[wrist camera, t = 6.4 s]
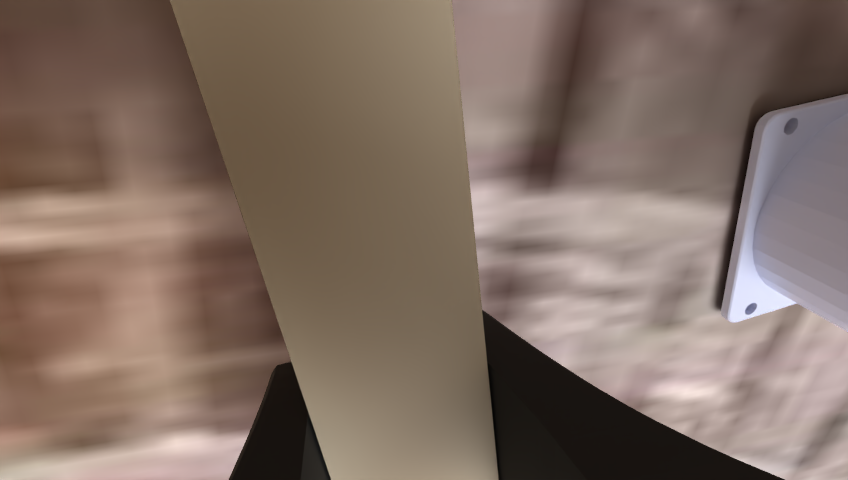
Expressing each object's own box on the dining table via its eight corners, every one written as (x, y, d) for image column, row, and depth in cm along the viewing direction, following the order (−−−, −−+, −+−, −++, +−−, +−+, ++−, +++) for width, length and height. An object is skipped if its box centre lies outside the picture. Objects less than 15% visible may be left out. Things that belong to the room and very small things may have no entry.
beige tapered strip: (354, -145, 7) (422, -297, 4) (460, 516, 14) (517, 676, 11) (180, -129, 7) (76, -279, 3) (380, 545, 14) (412, 721, 11)
